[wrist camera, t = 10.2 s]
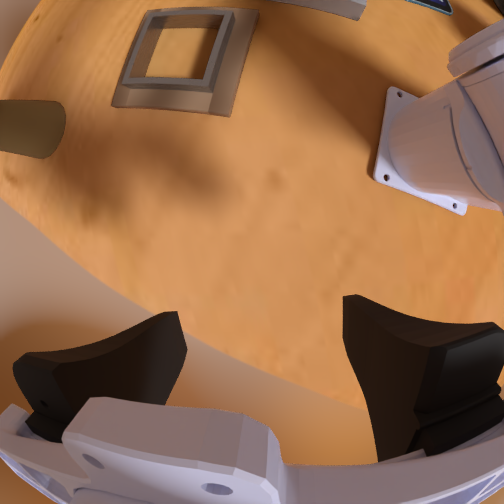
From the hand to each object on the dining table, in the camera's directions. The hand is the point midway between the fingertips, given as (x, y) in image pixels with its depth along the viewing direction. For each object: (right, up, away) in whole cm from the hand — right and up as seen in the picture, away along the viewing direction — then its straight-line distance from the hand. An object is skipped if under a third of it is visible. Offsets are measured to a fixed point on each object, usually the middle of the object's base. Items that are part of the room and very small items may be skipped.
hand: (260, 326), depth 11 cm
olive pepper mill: (-21, +15, +8) cm, 27 cm away
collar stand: (-6, +19, +6) cm, 20 cm away
